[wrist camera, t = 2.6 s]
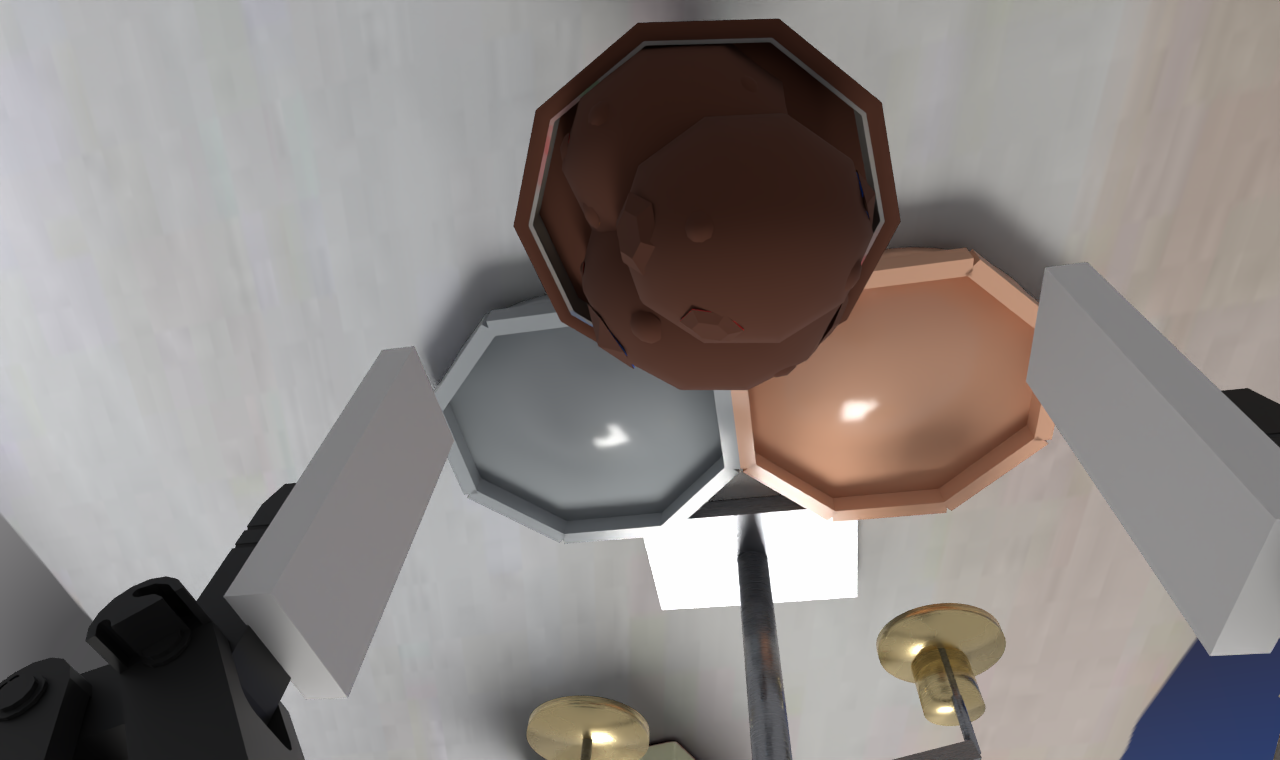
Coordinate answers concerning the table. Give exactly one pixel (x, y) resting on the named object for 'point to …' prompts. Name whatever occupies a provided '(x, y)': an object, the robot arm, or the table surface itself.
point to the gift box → (667, 752)
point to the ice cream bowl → (708, 200)
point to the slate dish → (579, 432)
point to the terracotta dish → (903, 395)
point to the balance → (755, 579)
